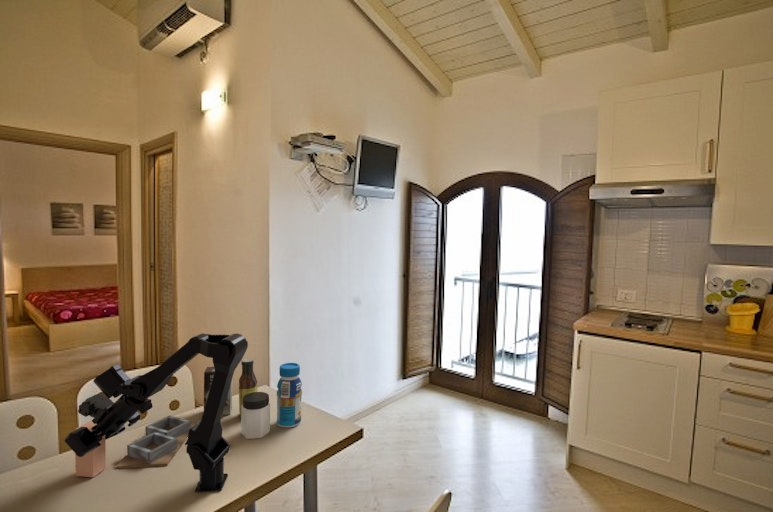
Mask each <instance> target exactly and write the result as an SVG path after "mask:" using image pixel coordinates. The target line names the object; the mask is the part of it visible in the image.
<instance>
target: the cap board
mask: <svg viewBox="0 0 773 512" xmlns="http://www.w3.org/2000/svg"><path fill="white" fill-rule="evenodd" d="M197 423H198V422H191V420H188V419H184V418H182V417H181V418H180V417H177V416H173V415H167V416H165V417H163V418H161V419H159V420H157V421H155V422H152V423H150V424H148V425H145V435H144V436H143V437H141V438H139V439H137V440H135V441H133V442H131V443H129V444H127V445H126V447H127V448H126V449H127V451H126V453H127V454H126V455H125V456H124V457H123V459H122V460H121V461H120V462H119V463H118V464H117V465H116V466H115V467H116V469H130V468H149V467H150V468H151V467H165V466H166V467H167V466H168V465H169V464H170V463H171V461H172V460H173V458H174V457H175V456H176V454H177V453H178V452H179V450H180V449H181V447H182V446H183V445H182V444H185V443H186V441H187V440H188V438H187V437H188V433H189V430H190V429H191V428H192V427H193V426H195V425H196V424H197Z"/></svg>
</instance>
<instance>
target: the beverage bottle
mask: <svg viewBox="0 0 773 512" xmlns="http://www.w3.org/2000/svg"><path fill="white" fill-rule="evenodd" d="M300 373H301V367H300V364H299V363H297V362H286V363H283V364H280V366H279V377H280V378H279V380H278V381H277V384H276V387H277V390H276V424H277V425H278V427H280V428H288V429H289V428H293V427H294V428H295V427H297V426H298V425H299V424H301V422H302V395H303V390H302V388H301V387H302V385H303V384H302V380H301V378H300V377H299V375H300Z"/></svg>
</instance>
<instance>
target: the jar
mask: <svg viewBox="0 0 773 512" xmlns="http://www.w3.org/2000/svg"><path fill="white" fill-rule="evenodd" d="M269 402H270V395H269V394H268V393H267V392H265V391H257V392H253V393H249V394H247V395H245V396H244V397H243V405H241V416H240V418H241V419H240V420H241V421H240V422H241V423H240V429H241V432H240V433H241V435H242V436H243V437H244V438H245V439H246V440H249V439H250V440H251V439H262V438H263V437H265V436H266V435H267V434H269V433H270V431H271V403H269Z"/></svg>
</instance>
